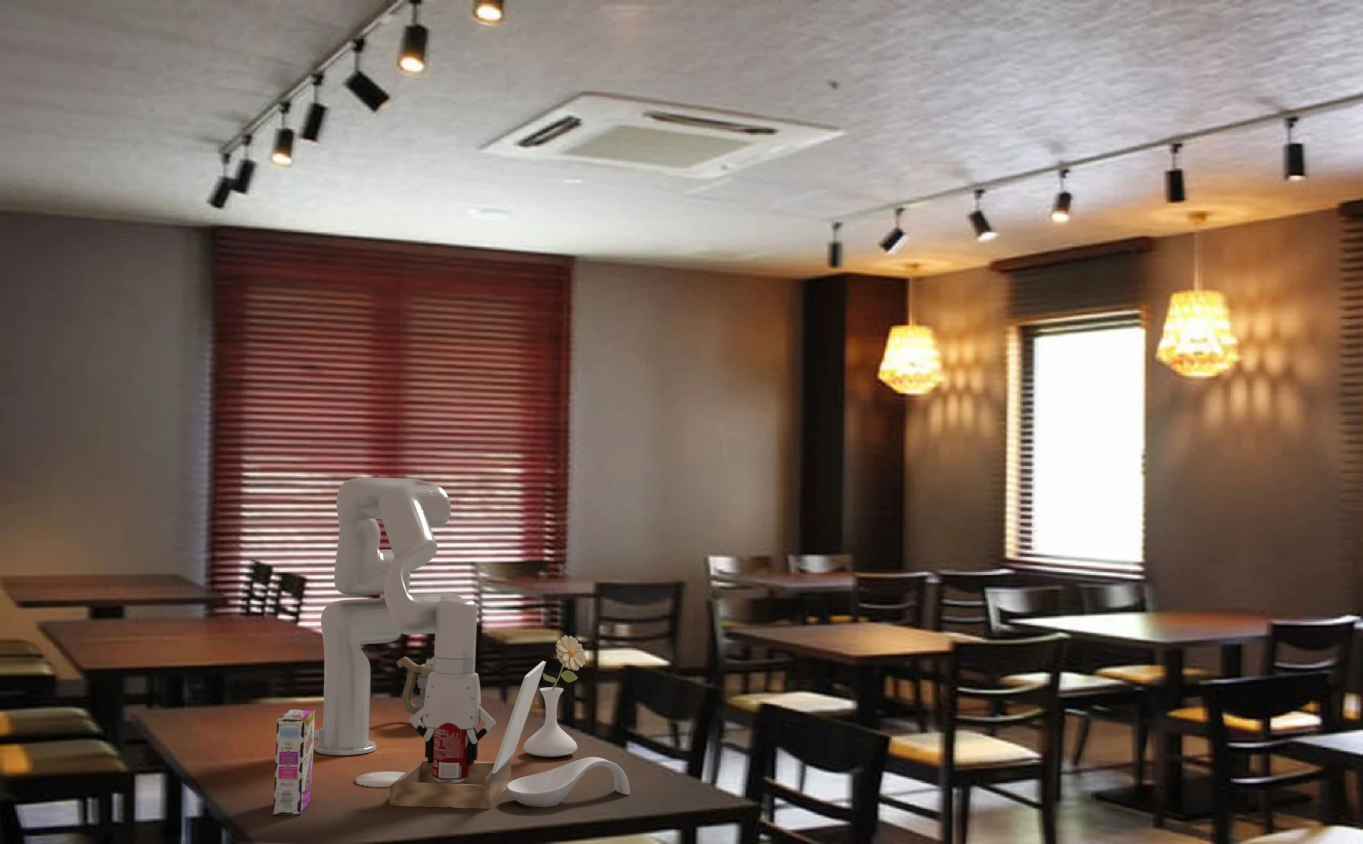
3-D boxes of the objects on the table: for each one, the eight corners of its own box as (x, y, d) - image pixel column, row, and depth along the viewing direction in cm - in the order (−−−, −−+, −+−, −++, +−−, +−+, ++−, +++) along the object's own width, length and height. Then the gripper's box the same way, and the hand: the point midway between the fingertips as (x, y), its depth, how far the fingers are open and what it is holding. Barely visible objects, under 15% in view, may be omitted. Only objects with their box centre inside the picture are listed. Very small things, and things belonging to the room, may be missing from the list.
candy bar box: (302, 816, 242) (304, 720, 243) (272, 816, 242) (275, 719, 242) (313, 800, 253) (316, 708, 254) (285, 800, 253) (287, 708, 253)
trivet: (348, 786, 265) (348, 783, 265) (365, 773, 276) (365, 770, 276) (406, 788, 264) (406, 785, 264) (420, 775, 275) (420, 772, 275)
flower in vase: (534, 762, 289) (537, 640, 290) (515, 752, 299) (517, 633, 300) (593, 757, 295) (595, 637, 296) (571, 747, 305) (574, 631, 306)
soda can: (461, 785, 257) (463, 719, 257) (426, 782, 258) (428, 716, 258) (474, 777, 263) (476, 712, 263) (439, 774, 265) (442, 710, 265)
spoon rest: (524, 815, 246) (525, 774, 246) (495, 801, 256) (495, 761, 256) (640, 800, 259) (640, 760, 259) (607, 787, 269) (608, 749, 269)
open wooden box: (389, 805, 250) (390, 775, 251) (417, 780, 270) (418, 752, 271) (489, 809, 249) (490, 778, 249) (510, 783, 269) (511, 755, 269)
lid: (524, 676, 250) (528, 677, 250) (542, 660, 270) (546, 662, 270) (489, 777, 249) (493, 778, 249) (510, 754, 269) (514, 756, 269)
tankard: (480, 724, 330) (481, 660, 330) (443, 732, 319) (445, 666, 320) (417, 715, 341) (418, 653, 341) (379, 722, 330) (381, 658, 330)
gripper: (403, 667, 258) (399, 765, 257) (497, 671, 256) (493, 770, 256) (413, 660, 265) (409, 756, 265) (504, 665, 264) (501, 760, 264)
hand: (451, 762), depth 261 cm, fingers closed on soda can, 6 cm apart
